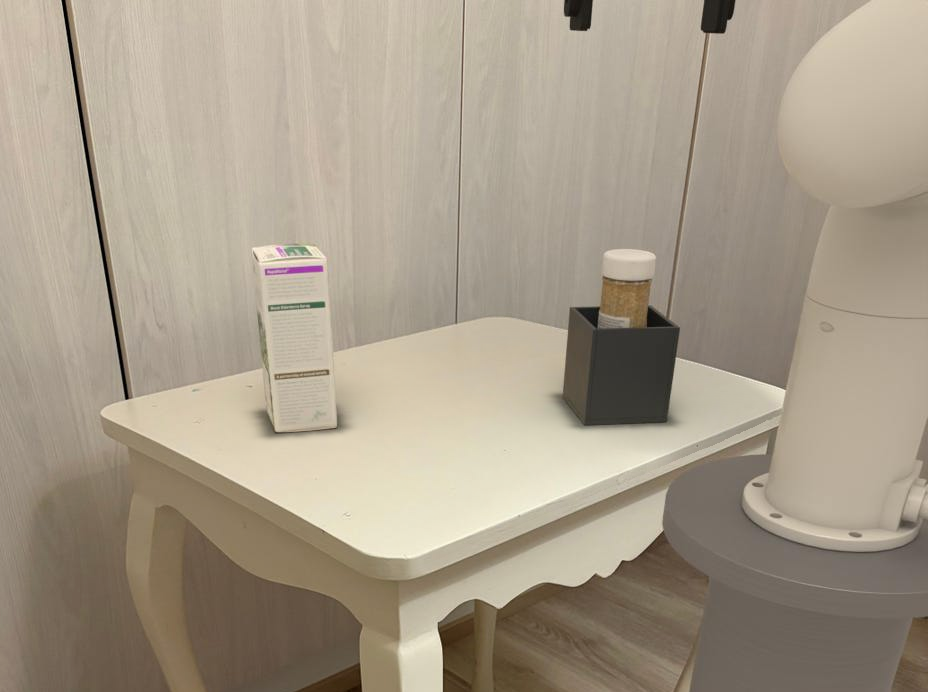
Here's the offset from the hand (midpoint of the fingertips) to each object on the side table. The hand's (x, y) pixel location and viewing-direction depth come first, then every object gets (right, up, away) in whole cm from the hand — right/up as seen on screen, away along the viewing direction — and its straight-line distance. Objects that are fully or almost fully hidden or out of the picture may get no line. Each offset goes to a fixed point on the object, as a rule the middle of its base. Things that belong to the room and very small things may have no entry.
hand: (646, 31), depth 69 cm
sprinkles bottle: (+2, -20, +24) cm, 31 cm away
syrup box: (-27, -23, +20) cm, 41 cm away
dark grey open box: (+2, -21, +24) cm, 32 cm away
